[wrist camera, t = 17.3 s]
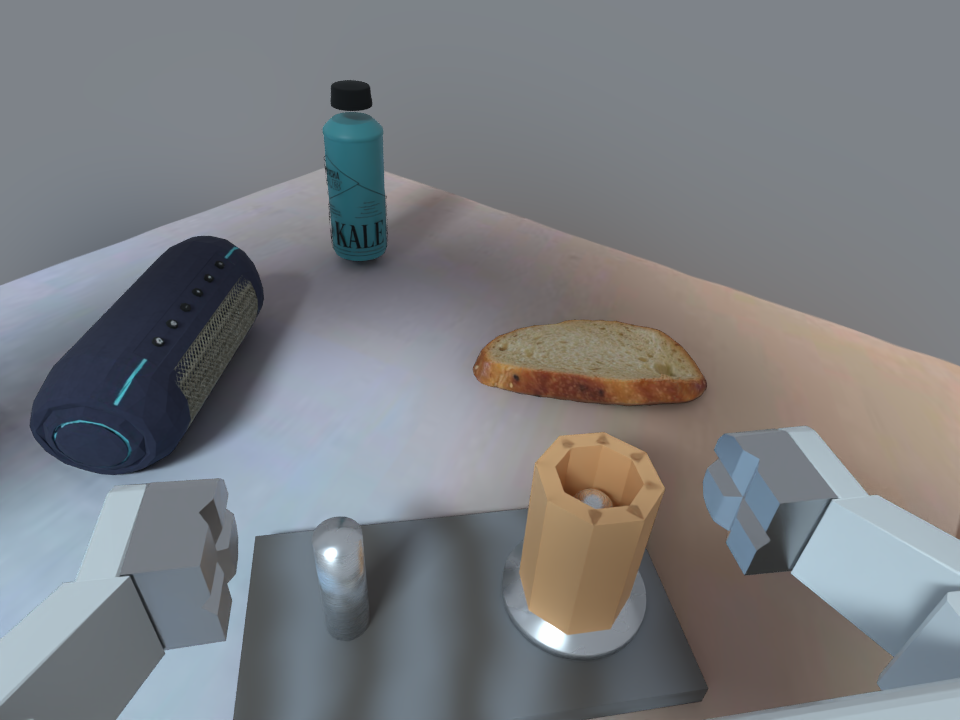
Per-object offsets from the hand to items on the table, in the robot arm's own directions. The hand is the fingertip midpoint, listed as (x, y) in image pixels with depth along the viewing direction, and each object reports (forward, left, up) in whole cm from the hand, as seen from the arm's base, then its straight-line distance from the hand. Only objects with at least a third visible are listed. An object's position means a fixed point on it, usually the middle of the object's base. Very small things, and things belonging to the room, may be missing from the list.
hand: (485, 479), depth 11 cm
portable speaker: (-44, +5, -30) cm, 54 cm away
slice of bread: (-24, +36, -31) cm, 53 cm away
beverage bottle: (-55, +30, -30) cm, 70 cm away
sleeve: (-8, +16, -28) cm, 33 cm away
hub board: (-12, +10, -30) cm, 34 cm away
